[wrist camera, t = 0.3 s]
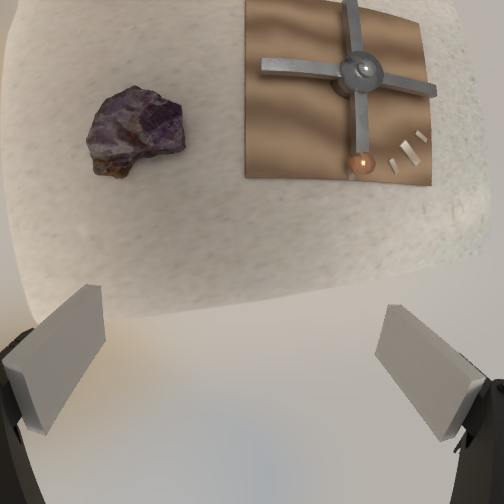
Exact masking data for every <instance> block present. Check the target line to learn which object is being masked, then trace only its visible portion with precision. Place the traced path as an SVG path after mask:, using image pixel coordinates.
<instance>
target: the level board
mask: <svg viewBox="0 0 504 504" xmlns="http://www.w3.org/2000/svg"><path fill="white" fill-rule="evenodd" d="M358 9H359V16H360V24H361V32H362V40H363V49H364V52H367V53H370V54H371V55H373V56H374V57H375V58H376V59H377V60H378V61H379V62H380V64H381V66H382V68H383V71H384V72H386V73H390V74H395V75H399V76H403V77H408V78H412V79H416V80H419V81H423V82H427V73H426V65H425V58H424V51H423V45H422V39H421V33H420V28H419V23H416V22H413V21H410V20H407V19H403V18H400V17H397V16H393V15H390V14H386V13H382V12H378V11H375V10H370V9H366V8H362V7H358ZM345 57H347V48H346V37H345V28H344V19H343V10H342V3H337V2H331V1H325V0H246V27H245V178H314V179H340V180H359V181H375V182H389V183H401V184H413V185H424V186H431V183H432V141H431V118H430V103H429V98H428V97H424V96H420V95H415V94H411V93H407V92H402V91H397V90H393V89H388V88H382V87H378V88H376V89H374V90H372V91H370V92H369V93H367V101H368V126H369V153H371V154H372V155H373V156H374V158H375V161H376V166H375V169H374V171H373V172H372V173H370V174H354V173H352V172H351V171H350V170H349V168H348V164H347V161H348V158H349V156H350V155H351V113H350V100H347V99H344V98H342V97H340V96H339V95H337V94H336V93H335V92H334V90H333V89H332V87H331V84H330V79H321V78H311V77H299V76H285V75H263V74H260V61H261V58H282V59H296V60H307V61H316V62H325V63H333V64H339V63H340V62H341V61H342V60H343V59H344V58H345ZM427 83H428V82H427Z"/></svg>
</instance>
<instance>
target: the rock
mask: <svg viewBox="0 0 504 504" xmlns="http://www.w3.org/2000/svg"><path fill="white" fill-rule="evenodd" d="M86 143H87V146H88V148H89V150H90V155H91V157H92V159H93V165H94V166H93V171H94V173H95V174H97V175H104V176H113V177H115V178H116V179H118V178H121V179H122V178H124V177H125V176H127V174H128V171H129V170H130V168H131V166H132V164H133V161H134V160H135V159H138V158H142V157H146V158H151V157H153V156H156V155H158V154H173V153H175V152H180V151H182V150H184V149H185V148H186V145H185V136H184V130H183V127H182V108H181V105H179V104H176V103H173V102H171V101H169V100H166V99H164V98H161V96H160V95H159V94H158V93H156V92H154V91H150V90H143V89H141V88H140V87H138V86H132V87H130V88H127V89H126V90H124V91H122V92H121V93H118V94H116V95H114V96H112V97H111V98H107V99H106V100H105V101H104V103H103V104H102V105H101V107H100V109H99V111H98V112H97V113H96V114H95V118H94V121H93V123H92V127H91V129H90V131H89V134H88V137H87V138H86Z"/></svg>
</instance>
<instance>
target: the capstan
mask: <svg viewBox="0 0 504 504" xmlns="http://www.w3.org/2000/svg"><path fill="white" fill-rule="evenodd" d="M341 3H342V10H343V19H344V28H345V37H346V48H347V57H345V58H344V59H343V60H342V61H341V62H340V63H339V64H333V63H325V62H316V61H307V60H296V59H282V58H261V61H260V74H263V75H285V76H299V77H311V78H321V79H330V84H331V87H332V89H333V90H334V92H335V93H336V94H337V95H339V96H340V97H342V98H344V99H347V100H350V113H351V155H350V156H349V158H348V161H347V164H348V168H349V170H350V171H351V172H352V173H354V174H370V173H372V172H373V171H374V169H375V166H376V161H375V158H374V156H373V155H372V154H371V153H369V126H368V101H367V93H369V92H370V91H372V90H374V89H376V88H378V87H382V88H388V89H393V90H397V91H402V92H407V93H411V94H415V95H420V96H424V97H428V98H433V97H436V96H437V89H436V85H434V84H430V83H427V82H423V81H419V80H416V79H412V78H408V77H403V76H399V75H395V74H390V73H386V72H384V71H383V68H382V66H381V64H380V62H379V61H378V60H377V59H376V58H375V57H374V56H373V55H371V54H370V53H367V52H364V49H363V40H362V32H361V24H360V16H359V9H358V3H357V0H343V1H342V2H341Z"/></svg>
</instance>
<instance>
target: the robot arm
mask: <svg viewBox="0 0 504 504" xmlns="http://www.w3.org/2000/svg"><path fill="white" fill-rule="evenodd" d="M105 341H106V340H105V331H104V320H103V308H102V295H101V286H96V285H88V284H86V285H84V286H83V287H82V288H81V289H80V290H79V291H77V292H76V293H75V294H74V295H73V296H71V297H70V298H69V299H68V300H67V301H66V302H64V303H63V304H62V305H61V306H60V307H59V308H58V309H56V310H55V311H54V312H53V313H52V314H51V315H50V316H48V317H47V318H46V319H45V320H44V321H43V322H42V323H41V324H40V325H38V326H37V327H36V328H35V329H34V328H31V329H29V330H27V331H25V332H23V333H21V334H20V335H19V336H18V337H17V338H16V339H14V341H12V342H11V343H10V344H9V346H7V347H6V348H5V349H4V350H2V351H1V352H0V504H45V501H44V499H43V496H42V494H41V492H40V489H39V487H38V484H37V481H36V479H35V476H34V473H33V471H32V468H31V465H30V462H29V459H28V456H27V453H26V449H25V446H24V443H23V439H22V436H21V432H20V430H19V427H18V425H17V423H18V421H19V420H20V418H21V417H22V418H23V420H24V423H25V425H26V427H27V429H28V430H31V431H34V432H36V433H39V434H42V435H45V436H46V435H47V433H48V431H49V430H50V428H51V426H52V424H53V423H54V421H55V419H56V418H57V416H58V414H59V413H60V411H61V410H62V408H63V406H64V405H65V403H66V401H67V400H68V398H69V396H70V395H71V393H72V392H73V390H74V388H75V387H76V385H77V384H78V382H79V381H80V379H81V377H82V376H83V374H84V372H85V371H86V369H87V368H88V367H89V365H90V363H91V362H92V360H93V359H94V357H95V356H96V354H97V353H98V351H99V350H100V348H101V347H102V345H103V344H104V342H105ZM375 356H376V357H377V358H378V360H379V361H380V362H381V363H382V365H383V366H384V367H385V369H386V370H387V371H388V373H389V374H390V375H391V377H392V378H393V379H394V381H395V382H396V383H397V385H398V386H399V387H400V388H401V390H402V391H403V392H404V394H405V395H406V397H407V398H408V399H409V400H410V402H411V403H412V404H413V406H414V407H415V408H416V410H417V411H418V413H419V414H420V415H421V417H422V418H423V419H424V421H425V422H426V424H427V425H428V426H429V428H430V429H431V430H432V432H433V433H434V435H435V436H436V437H437V439H438V440H439V441H440V442H442V441H445V440H448V439H451V438H454V437H455V436H456V434H457V432H458V431H459V429H460V427H461V425H462V426H463V427H464V428H465V429H466V432H465V433H464V435H463V437H462V438H461V440H460V441H459V443H458V444H457V446H456V448H455V449H454V453H456V451H457V450H458V449H459V448H461V449H460V453H459V454H460V455H459V462H458V468H457V473H456V478H455V483H454V488H453V492H452V497H451V501H450V504H504V380H503V379H496V380H494V381H491V380H490V379H489V378H488V377H486V376H485V375H484V374H483V373H482V372H481V371H480V370H479V369H478V368H476V367H475V366H473V364H472V363H471V362H470V361H468V360H467V359H466V358H465V357H464V356H463V355H462V354H460V353H458V352H457V351H456V350H455V349H453V348H452V347H451V346H450V345H449V344H448V343H446V342H445V341H444V340H443V339H442V338H441V337H439V336H438V335H437V334H436V333H435V332H433V331H432V330H431V329H430V328H429V327H427V326H426V325H425V324H424V323H422V322H421V321H420V320H419V319H418V318H416V317H415V316H414V315H413V314H412V313H410V312H409V311H408V310H407V309H406V308H404V307H403V306H402V305H388V307H387V311H386V315H385V319H384V323H383V327H382V331H381V335H380V338H379V342H378V345H377V349H376V352H375Z"/></svg>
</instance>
